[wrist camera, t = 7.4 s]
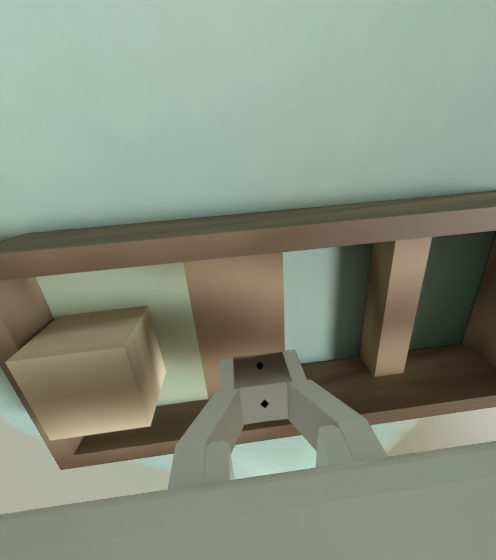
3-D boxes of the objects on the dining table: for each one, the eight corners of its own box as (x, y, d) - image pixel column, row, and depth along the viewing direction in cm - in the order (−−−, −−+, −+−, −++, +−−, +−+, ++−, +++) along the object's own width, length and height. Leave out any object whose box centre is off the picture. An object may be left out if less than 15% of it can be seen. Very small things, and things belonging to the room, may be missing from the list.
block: (59, 315, 13) (5, 362, 10) (147, 305, 13) (123, 347, 10) (87, 382, 15) (49, 440, 11) (165, 372, 15) (150, 426, 12)
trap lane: (28, 233, 13) (-62, 259, 9) (525, 188, 15) (643, 192, 11) (98, 401, 18) (60, 469, 14) (470, 352, 19) (538, 400, 15)
